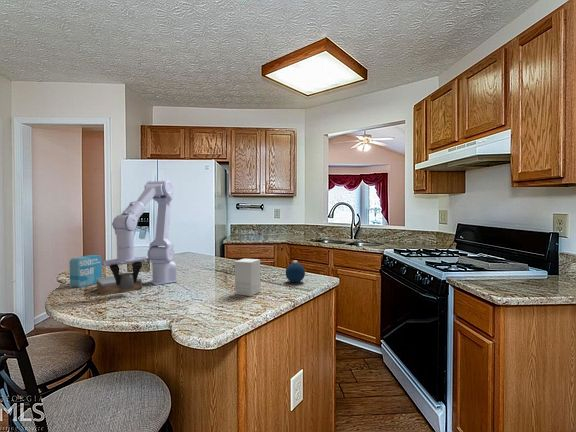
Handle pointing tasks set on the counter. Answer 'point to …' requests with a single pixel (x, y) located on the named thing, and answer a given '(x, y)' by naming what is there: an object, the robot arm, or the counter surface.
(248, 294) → the supplement box
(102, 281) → the lid
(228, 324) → the counter surface
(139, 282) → the box
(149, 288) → the counter surface
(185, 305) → the counter surface
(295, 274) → the christmas ornament
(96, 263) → the data package
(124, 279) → the dark grey rounded plug
